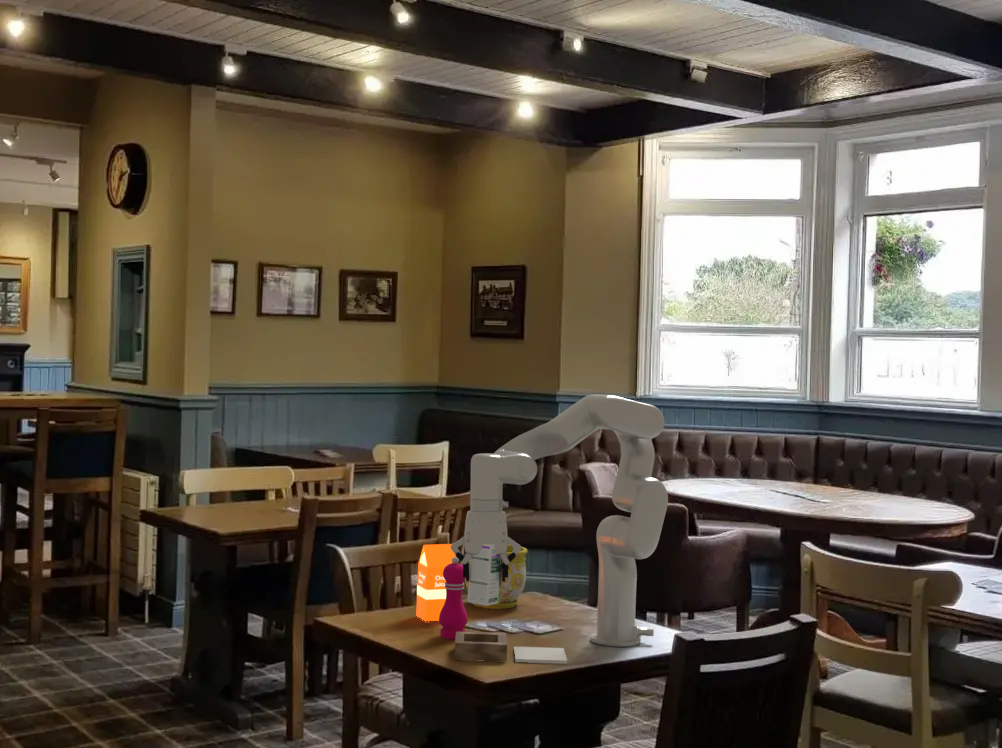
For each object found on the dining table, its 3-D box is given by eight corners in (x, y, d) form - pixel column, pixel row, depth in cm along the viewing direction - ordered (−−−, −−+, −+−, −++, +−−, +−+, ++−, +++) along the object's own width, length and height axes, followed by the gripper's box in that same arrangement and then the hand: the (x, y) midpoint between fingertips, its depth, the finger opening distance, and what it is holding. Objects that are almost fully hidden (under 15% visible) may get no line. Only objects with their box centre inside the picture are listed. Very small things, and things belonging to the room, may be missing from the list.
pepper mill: (463, 641, 278) (466, 560, 278) (435, 638, 280) (437, 558, 280) (469, 634, 285) (472, 555, 286) (442, 632, 287) (445, 554, 287)
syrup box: (487, 606, 261) (492, 544, 261) (465, 602, 264) (471, 540, 264) (499, 603, 266) (505, 542, 266) (478, 599, 269) (483, 538, 269)
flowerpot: (506, 614, 313) (508, 555, 313) (451, 605, 321) (453, 548, 321) (536, 603, 328) (538, 547, 328) (482, 596, 337) (484, 541, 337)
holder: (505, 649, 271) (506, 633, 271) (506, 662, 259) (507, 644, 259) (455, 648, 271) (456, 631, 271) (454, 660, 259) (455, 643, 259)
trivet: (563, 651, 271) (563, 648, 271) (567, 664, 259) (567, 660, 259) (513, 649, 271) (513, 646, 271) (515, 662, 259) (515, 658, 259)
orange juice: (415, 616, 305) (418, 542, 306) (446, 614, 309) (448, 541, 309) (425, 622, 298) (427, 546, 298) (456, 620, 302) (459, 546, 302)
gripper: (522, 504, 269) (521, 577, 269) (449, 503, 269) (448, 577, 269) (523, 508, 261) (522, 583, 262) (448, 507, 261) (448, 583, 261)
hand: (485, 580), depth 265 cm, fingers closed on syrup box, 8 cm apart
